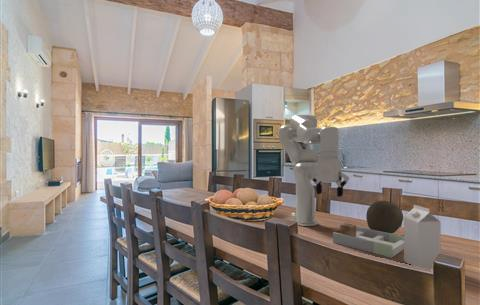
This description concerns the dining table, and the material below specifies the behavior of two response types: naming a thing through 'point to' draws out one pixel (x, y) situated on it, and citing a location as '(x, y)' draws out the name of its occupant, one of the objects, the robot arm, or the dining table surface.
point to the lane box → (372, 241)
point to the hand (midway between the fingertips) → (329, 194)
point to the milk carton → (421, 237)
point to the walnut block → (348, 229)
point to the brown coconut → (384, 217)
